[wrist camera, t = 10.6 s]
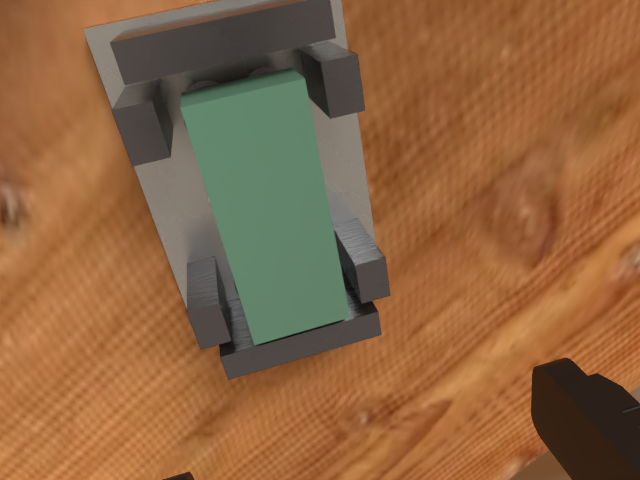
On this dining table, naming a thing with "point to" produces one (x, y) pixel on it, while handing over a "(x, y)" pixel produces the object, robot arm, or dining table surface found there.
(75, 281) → the dining table surface
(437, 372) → the dining table surface
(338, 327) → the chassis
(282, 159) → the green block
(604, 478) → the robot arm
